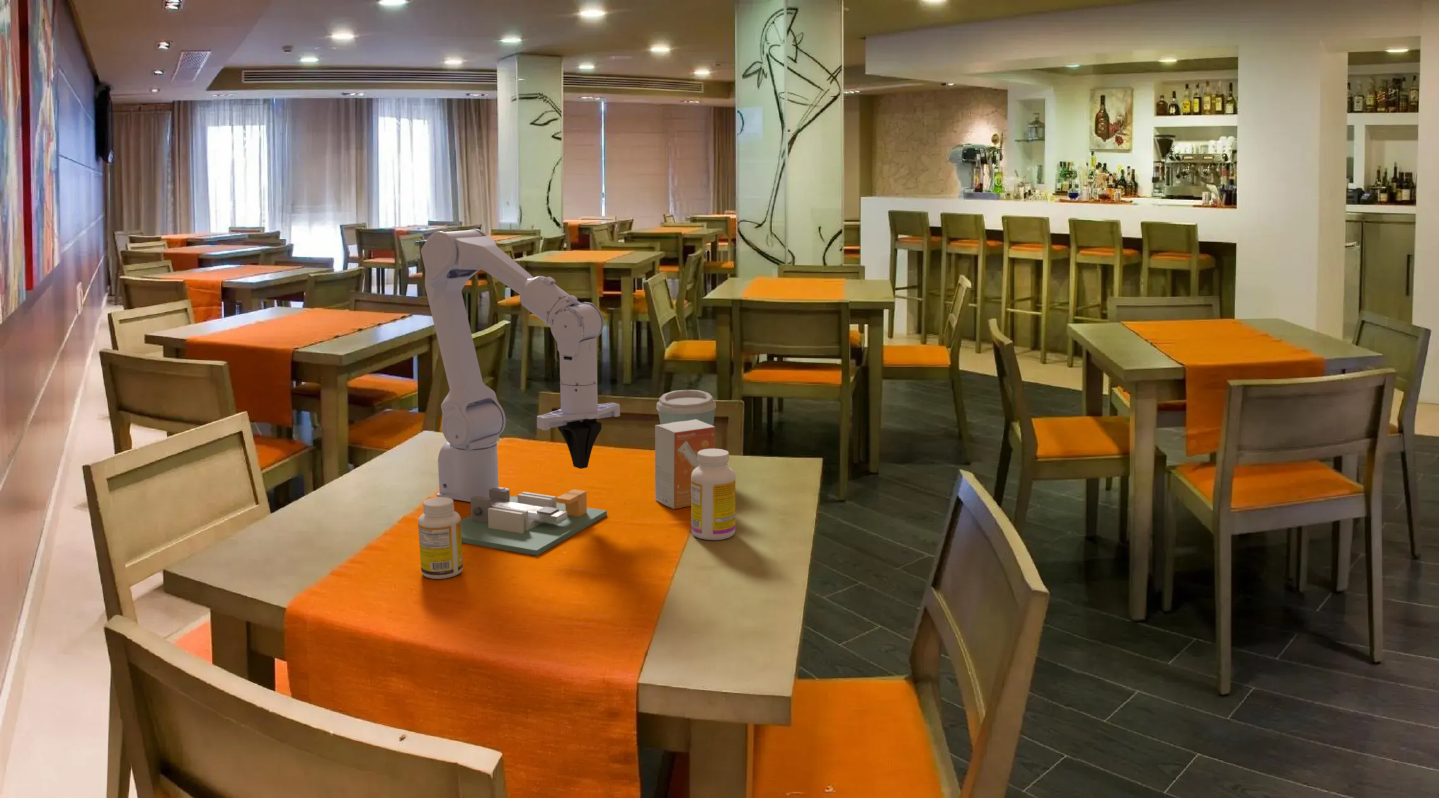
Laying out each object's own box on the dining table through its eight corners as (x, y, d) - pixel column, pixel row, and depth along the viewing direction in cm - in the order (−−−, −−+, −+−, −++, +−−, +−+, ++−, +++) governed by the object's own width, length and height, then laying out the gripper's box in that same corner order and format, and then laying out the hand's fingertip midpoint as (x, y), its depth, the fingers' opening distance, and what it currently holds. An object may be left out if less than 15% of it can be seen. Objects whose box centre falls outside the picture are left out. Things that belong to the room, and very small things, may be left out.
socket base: (434, 537, 161) (433, 509, 160) (512, 500, 179) (511, 475, 178) (536, 555, 154) (535, 526, 153) (606, 515, 172) (606, 488, 171)
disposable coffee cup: (715, 485, 188) (716, 401, 185) (654, 485, 188) (653, 401, 185) (716, 469, 198) (717, 389, 195) (658, 468, 199) (657, 388, 195)
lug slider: (586, 512, 170) (586, 491, 170) (569, 521, 166) (569, 499, 165) (573, 510, 171) (573, 489, 171) (556, 519, 167) (556, 497, 166)
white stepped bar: (484, 511, 167) (484, 502, 167) (496, 506, 170) (496, 497, 169) (556, 524, 162) (556, 514, 162) (567, 518, 165) (567, 509, 164)
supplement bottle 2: (740, 530, 165) (742, 448, 163) (726, 543, 159) (727, 459, 156) (699, 525, 167) (700, 444, 165) (684, 538, 161) (684, 455, 159)
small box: (674, 510, 175) (673, 432, 172) (654, 500, 180) (653, 424, 177) (715, 502, 179) (716, 425, 176) (695, 492, 184) (695, 418, 181)
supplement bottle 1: (446, 562, 151) (443, 492, 149) (471, 572, 148) (468, 500, 145) (412, 573, 147) (408, 501, 145) (437, 583, 143) (433, 510, 141)
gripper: (554, 392, 160) (557, 480, 163) (631, 380, 169) (632, 463, 172) (528, 385, 165) (530, 471, 168) (604, 373, 174) (605, 454, 177)
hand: (580, 466), depth 170 cm, fingers closed
